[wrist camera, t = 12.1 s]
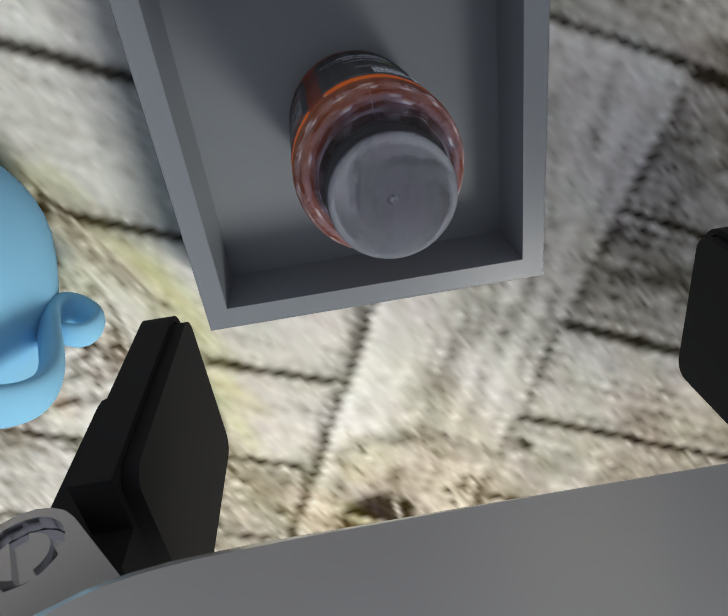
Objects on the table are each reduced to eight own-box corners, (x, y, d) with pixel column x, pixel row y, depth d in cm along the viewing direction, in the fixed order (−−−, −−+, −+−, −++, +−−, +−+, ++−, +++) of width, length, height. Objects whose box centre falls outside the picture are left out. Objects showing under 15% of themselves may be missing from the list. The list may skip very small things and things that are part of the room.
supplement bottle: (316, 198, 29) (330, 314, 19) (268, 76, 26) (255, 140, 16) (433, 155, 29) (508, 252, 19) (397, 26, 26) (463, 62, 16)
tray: (511, -120, 24) (553, -137, 20) (512, 237, 32) (543, 274, 28) (120, -62, 24) (87, -68, 20) (220, 286, 32) (211, 330, 28)
